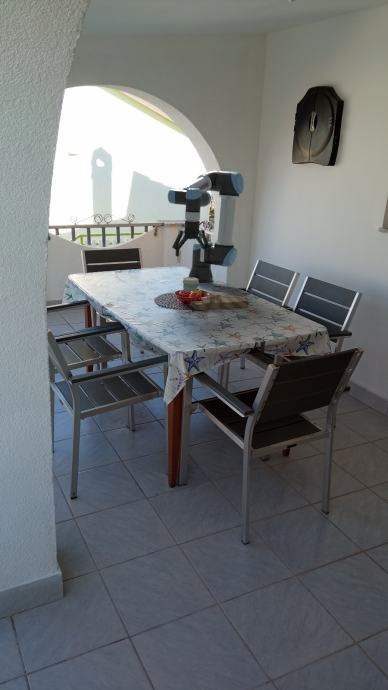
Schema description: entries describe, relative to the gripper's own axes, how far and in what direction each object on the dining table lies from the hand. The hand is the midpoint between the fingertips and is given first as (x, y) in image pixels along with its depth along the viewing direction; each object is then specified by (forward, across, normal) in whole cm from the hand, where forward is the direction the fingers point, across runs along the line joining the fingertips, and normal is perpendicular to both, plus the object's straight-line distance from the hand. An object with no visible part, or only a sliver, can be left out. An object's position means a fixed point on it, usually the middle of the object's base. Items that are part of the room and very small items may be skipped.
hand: (190, 262), depth 266 cm
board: (+20, -9, +16) cm, 27 cm away
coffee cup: (+20, +2, +4) cm, 21 cm away
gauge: (+17, -4, +18) cm, 25 cm away
